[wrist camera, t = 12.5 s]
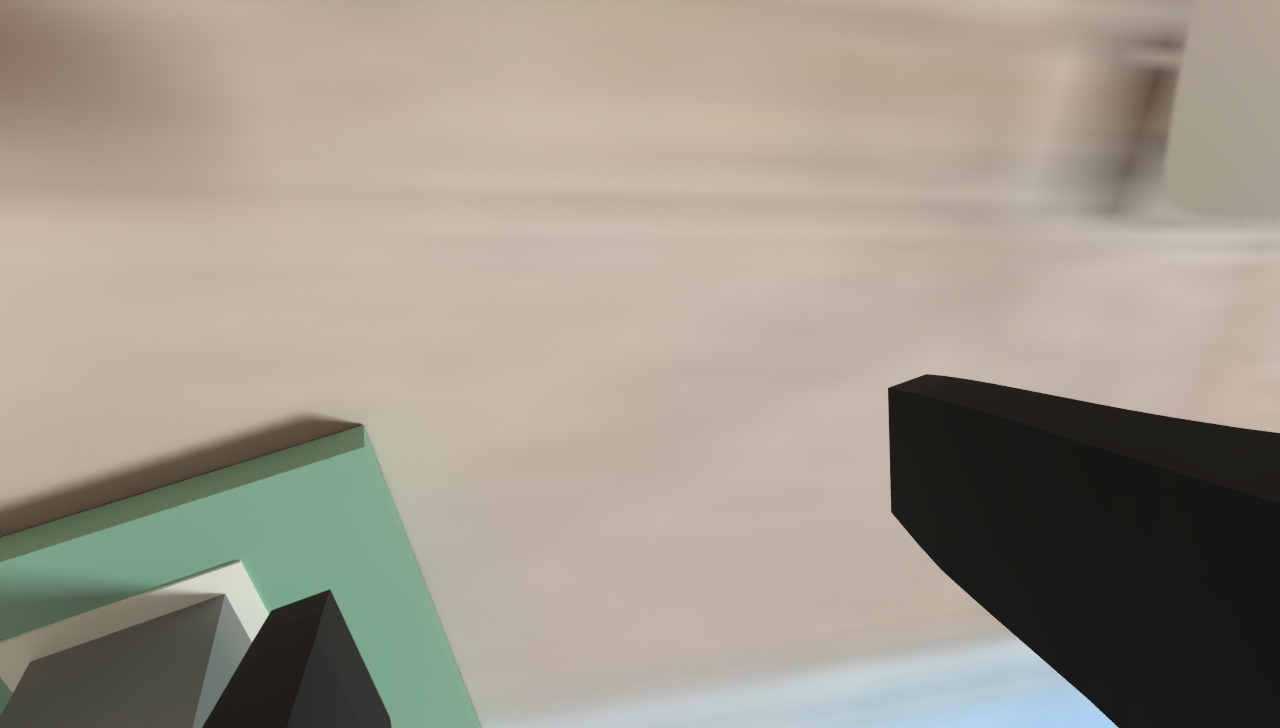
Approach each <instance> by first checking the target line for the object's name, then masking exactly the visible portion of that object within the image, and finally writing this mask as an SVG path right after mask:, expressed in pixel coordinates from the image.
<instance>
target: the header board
mask: <svg viewBox="0 0 1280 728" xmlns="http://www.w3.org/2000/svg"><path fill="white" fill-rule="evenodd" d="M329 589H330V590H331V592H332V594H333V596H334V598H335V601H336V603H337V605H338V607H339V609H340V611H341V613H342V616H343V618H344V620H345V622H346V624H347V626H348V628H349V631H350V633H351V635H352V637H353V639H354V641H355V643H356V646H357V648H358V650H359V652H360V654H361V656H362V659H363V661H364V663H365V665H366V667H367V669H368V671H369V674H370V676H371V678H372V680H373V682H374V684H375V686H376V689H377V691H378V693H379V695H380V697H381V699H382V702H383V704H384V706H385V708H386V710H387V712H388V714H389V717H390V720H391V727H392V728H481V725H480V722H479V720H478V717H477V715H476V712H475V710H474V707H473V704H472V702H471V699H470V697H469V694H468V692H467V689H466V686H465V684H464V681H463V679H462V676H461V674H460V671H459V668H458V666H457V663H456V661H455V658H454V656H453V653H452V650H451V648H450V645H449V643H448V640H447V638H446V635H445V632H444V630H443V627H442V625H441V622H440V620H439V617H438V615H437V612H436V609H435V607H434V604H433V602H432V599H431V597H430V594H429V591H428V589H427V586H426V584H425V581H424V579H423V576H422V573H421V571H420V568H419V566H418V563H417V561H416V558H415V555H414V553H413V550H412V548H411V545H410V543H409V540H408V537H407V535H406V532H405V530H404V527H403V525H402V522H401V519H400V517H399V514H398V512H397V509H396V507H395V504H394V502H393V499H392V496H391V494H390V491H389V489H388V486H387V484H386V481H385V478H384V476H383V473H382V471H381V468H380V466H379V463H378V460H377V458H376V455H375V453H374V450H373V448H372V445H371V442H370V440H369V437H368V435H367V432H366V430H365V427H364V425H362V426H358V427H355V428H352V429H349V430H346V431H342V432H339V433H336V434H333V435H329V436H326V437H323V438H320V439H316V440H313V441H310V442H307V443H304V444H300V445H297V446H294V447H291V448H287V449H284V450H281V451H278V452H274V453H271V454H268V455H265V456H262V457H258V458H255V459H252V460H249V461H245V462H242V463H239V464H236V465H232V466H229V467H226V468H223V469H220V470H216V471H213V472H210V473H207V474H203V475H200V476H197V477H194V478H190V479H187V480H184V481H181V482H178V483H174V484H171V485H168V486H165V487H161V488H158V489H155V490H152V491H148V492H145V493H142V494H139V495H136V496H132V497H129V498H126V499H123V500H119V501H116V502H113V503H110V504H106V505H103V506H100V507H97V508H94V509H90V510H87V511H84V512H81V513H77V514H74V515H71V516H68V517H64V518H61V519H58V520H55V521H52V522H48V523H45V524H42V525H39V526H35V527H32V528H29V529H26V530H22V531H19V532H16V533H13V534H10V535H6V536H3V537H0V716H1V714H2V712H3V710H4V709H5V707H6V705H7V703H8V701H9V699H10V698H11V696H12V694H13V692H14V690H15V688H16V687H17V685H18V683H19V681H20V679H21V677H22V676H23V674H24V672H25V670H26V668H27V666H28V665H29V663H30V662H31V661H34V660H37V659H40V658H42V657H45V656H48V655H51V654H54V653H57V652H60V651H63V650H65V649H68V648H71V647H74V646H77V645H80V644H83V643H85V642H88V641H91V640H94V639H97V638H100V637H103V636H105V635H108V634H111V633H114V632H117V631H120V630H123V629H126V628H128V627H131V626H134V625H137V624H140V623H143V622H146V621H148V620H151V619H154V618H157V617H160V616H163V615H166V614H168V613H171V612H174V611H177V610H180V609H183V608H186V607H188V606H191V605H194V604H197V603H200V602H203V601H206V600H209V599H211V598H214V597H217V596H220V595H223V594H226V596H227V598H228V600H229V602H230V603H231V605H232V607H233V609H234V611H235V613H236V614H237V616H238V618H239V620H240V622H241V623H242V625H243V627H244V629H245V631H246V633H247V634H248V636H249V638H250V640H251V642H253V640H254V638H255V637H256V635H257V633H258V632H259V630H260V628H261V627H262V625H263V623H264V622H265V620H266V619H267V617H268V615H269V614H270V612H271V610H274V609H276V608H279V607H282V606H285V605H288V604H290V603H293V602H296V601H299V600H301V599H304V598H307V597H310V596H312V595H315V594H318V593H321V592H324V591H326V590H329Z"/></svg>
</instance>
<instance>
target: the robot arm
mask: <svg viewBox="0 0 1280 728" xmlns="http://www.w3.org/2000/svg"><path fill="white" fill-rule="evenodd" d="M888 401H889V439H890V478H891V512H892V514H893V515H894V516H895V517H896V518H897V519H898V521H899V522H900V523H901V524H902V525H903V527H904V528H905V529H906V530H907V531H908V533H909V534H910V535H911V536H912V537H913V539H914V540H915V541H916V542H917V543H918V544H919V546H920V547H921V548H922V549H923V550H924V551H925V552H926V553H927V554H928V555H929V557H930V558H931V559H932V560H933V561H934V562H935V563H936V564H937V565H938V566H939V568H940V569H941V570H942V571H943V572H945V573H946V574H947V575H948V576H949V577H950V578H951V579H952V580H953V581H954V582H955V583H957V584H958V585H959V586H960V587H961V588H962V589H963V590H964V591H965V592H967V593H968V594H969V595H970V596H971V597H972V598H973V599H974V600H976V601H977V602H978V603H979V604H980V605H981V606H982V607H983V608H985V609H986V610H987V611H988V612H989V613H990V614H991V615H992V616H994V617H995V618H996V619H997V620H998V621H999V622H1001V623H1002V624H1003V625H1004V626H1005V627H1006V628H1007V629H1009V630H1010V631H1011V632H1012V633H1013V634H1014V635H1015V636H1017V637H1018V638H1019V639H1020V640H1021V641H1022V642H1023V643H1025V644H1026V645H1027V646H1028V647H1029V648H1030V649H1031V650H1033V651H1034V652H1035V653H1036V654H1037V655H1038V656H1040V657H1041V658H1042V659H1043V660H1044V661H1045V662H1046V663H1048V664H1049V665H1050V666H1051V667H1052V668H1053V669H1054V670H1056V671H1057V672H1058V673H1059V674H1060V675H1061V676H1062V677H1064V678H1065V679H1066V680H1067V681H1068V682H1069V683H1070V684H1072V685H1073V686H1074V687H1075V688H1076V689H1077V690H1078V691H1080V692H1081V693H1082V694H1083V695H1084V696H1085V697H1086V698H1088V699H1089V700H1090V701H1091V702H1092V703H1093V704H1094V705H1095V706H1096V707H1097V708H1098V709H1099V710H1100V711H1101V712H1103V713H1104V714H1105V715H1106V716H1107V717H1108V718H1109V719H1110V720H1111V721H1112V722H1113V723H1114V724H1115V725H1116V726H1117V727H1118V728H1280V433H1274V432H1266V431H1258V430H1251V429H1243V428H1236V427H1230V426H1223V425H1217V424H1211V423H1204V422H1198V421H1191V420H1185V419H1179V418H1172V417H1166V416H1160V415H1155V414H1149V413H1143V412H1138V411H1132V410H1127V409H1121V408H1116V407H1110V406H1105V405H1100V404H1095V403H1089V402H1084V401H1079V400H1074V399H1069V398H1064V397H1059V396H1053V395H1048V394H1043V393H1038V392H1033V391H1028V390H1023V389H1018V388H1012V387H1007V386H1002V385H997V384H991V383H985V382H980V381H974V380H968V379H961V378H955V377H947V376H938V375H927V374H926V375H923V376H920V377H918V378H915V379H912V380H909V381H907V382H904V383H901V384H898V385H895V386H893V387H890V388H888ZM202 728H392V727H391V720H390V717H389V714H388V712H387V710H386V708H385V706H384V704H383V702H382V699H381V697H380V695H379V693H378V691H377V689H376V686H375V684H374V682H373V680H372V678H371V676H370V674H369V671H368V669H367V667H366V665H365V663H364V661H363V659H362V656H361V654H360V652H359V650H358V648H357V646H356V643H355V641H354V639H353V637H352V635H351V633H350V631H349V628H348V626H347V624H346V622H345V620H344V618H343V616H342V613H341V611H340V609H339V607H338V605H337V603H336V601H335V598H334V596H333V594H332V592H331V590H330V589H329V590H326V591H324V592H321V593H318V594H315V595H312V596H310V597H307V598H304V599H301V600H299V601H296V602H293V603H290V604H288V605H285V606H282V607H279V608H276V609H274V610H271V612H270V614H269V615H268V617H267V619H266V620H265V622H264V623H263V625H262V627H261V628H260V630H259V632H258V633H257V635H256V637H255V638H254V640H253V642H252V643H251V645H250V647H249V648H248V650H247V652H246V653H245V655H244V657H243V659H242V660H241V662H240V664H239V665H238V667H237V669H236V671H235V672H234V674H233V676H232V677H231V679H230V681H229V683H228V684H227V686H226V688H225V689H224V691H223V693H222V694H221V696H220V698H219V700H218V701H217V703H216V705H215V706H214V708H213V710H212V711H211V713H210V715H209V717H208V718H207V720H206V722H205V723H204V725H203V727H202Z"/></svg>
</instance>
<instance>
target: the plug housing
mask: <svg viewBox="0 0 1280 728" xmlns="http://www.w3.org/2000/svg"><path fill="white" fill-rule="evenodd" d="M251 643H252V642H251V640H250V638H249V636H248V634H247V633H246V631H245V629H244V627H243V625H242V623H241V622H240V620H239V618H238V616H237V614H236V613H235V611H234V609H233V607H232V605H231V603H230V602H229V600H228V598H227V596H226V594H223V595H220V596H217V597H214V598H211V599H209V600H206V601H203V602H200V603H197V604H194V605H191V606H188V607H186V608H183V609H180V610H177V611H174V612H171V613H168V614H166V615H163V616H160V617H157V618H154V619H151V620H148V621H146V622H143V623H140V624H137V625H134V626H131V627H128V628H126V629H123V630H120V631H117V632H114V633H111V634H108V635H105V636H103V637H100V638H97V639H94V640H91V641H88V642H85V643H83V644H80V645H77V646H74V647H71V648H68V649H65V650H63V651H60V652H57V653H54V654H51V655H48V656H45V657H42V658H40V659H37V660H34V661H31V662H30V663H29V665H28V666H27V668H26V670H25V672H24V674H23V676H22V677H21V679H20V681H19V683H18V685H17V687H16V688H15V690H14V692H13V694H12V696H11V698H10V699H9V701H8V703H7V705H6V707H5V709H4V710H3V712H2V714H1V716H0V728H202V727H203V725H204V723H205V722H206V720H207V718H208V717H209V715H210V713H211V711H212V710H213V708H214V706H215V705H216V703H217V701H218V700H219V698H220V696H221V694H222V693H223V691H224V689H225V688H226V686H227V684H228V683H229V681H230V679H231V677H232V676H233V674H234V672H235V671H236V669H237V667H238V665H239V664H240V662H241V660H242V659H243V657H244V655H245V653H246V652H247V650H248V648H249V647H250V645H251Z"/></svg>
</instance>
